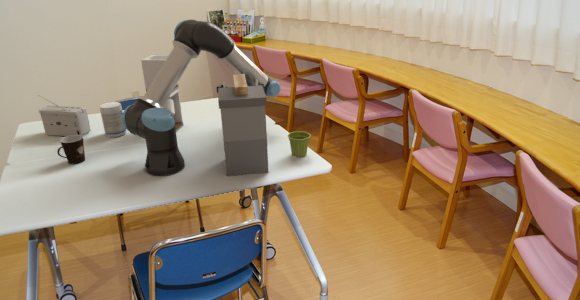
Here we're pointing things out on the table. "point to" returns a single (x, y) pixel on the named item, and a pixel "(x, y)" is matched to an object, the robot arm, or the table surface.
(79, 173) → the table surface
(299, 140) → the plant pot
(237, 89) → the oak slat
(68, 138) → the coffee mug
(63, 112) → the stereo radio cassette player
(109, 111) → the supplement tub
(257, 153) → the grey box
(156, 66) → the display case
